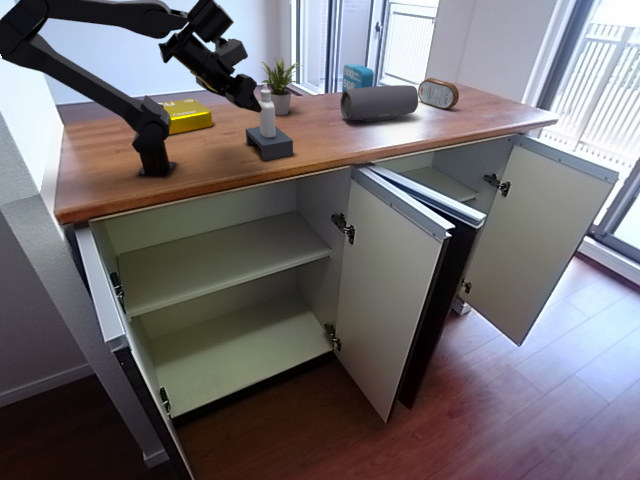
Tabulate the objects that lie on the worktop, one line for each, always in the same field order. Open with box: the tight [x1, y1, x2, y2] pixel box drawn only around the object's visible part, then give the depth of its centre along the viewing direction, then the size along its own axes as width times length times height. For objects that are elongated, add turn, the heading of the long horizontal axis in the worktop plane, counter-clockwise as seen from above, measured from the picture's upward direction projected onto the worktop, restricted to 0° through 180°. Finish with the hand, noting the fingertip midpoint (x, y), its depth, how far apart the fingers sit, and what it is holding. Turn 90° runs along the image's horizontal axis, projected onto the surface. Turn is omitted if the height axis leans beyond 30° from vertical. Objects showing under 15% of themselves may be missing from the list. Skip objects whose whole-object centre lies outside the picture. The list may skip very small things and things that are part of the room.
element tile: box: [157, 98, 214, 136], centre depth 108 cm, size 15×15×5 cm
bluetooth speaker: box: [339, 84, 419, 123], centre depth 115 cm, size 23×9×10 cm, turn 110°
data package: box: [341, 62, 375, 95], centre depth 126 cm, size 12×4×12 cm, turn 28°
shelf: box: [245, 125, 294, 162], centre depth 96 cm, size 8×12×4 cm, turn 29°
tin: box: [417, 77, 460, 110], centre depth 128 cm, size 15×3×8 cm, turn 42°
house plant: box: [260, 57, 304, 116], centre depth 114 cm, size 14×14×16 cm
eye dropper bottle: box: [258, 84, 276, 138], centre depth 91 cm, size 4×6×12 cm
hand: (250, 105), depth 87 cm, fingers open, 9 cm apart
